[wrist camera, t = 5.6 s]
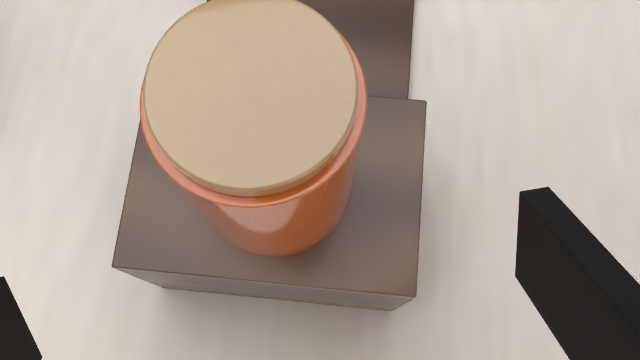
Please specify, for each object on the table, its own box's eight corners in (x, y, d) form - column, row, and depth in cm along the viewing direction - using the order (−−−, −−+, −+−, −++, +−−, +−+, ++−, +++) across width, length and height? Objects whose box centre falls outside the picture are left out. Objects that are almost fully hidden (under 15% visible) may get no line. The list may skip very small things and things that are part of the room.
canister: (210, 102, 28) (153, -27, 18) (357, 116, 27) (377, -8, 18) (187, 248, 26) (109, 188, 16) (345, 264, 25) (359, 212, 16)
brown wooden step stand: (221, -65, 40) (196, -172, 32) (415, -49, 40) (440, -153, 32) (161, 287, 34) (111, 266, 25) (392, 311, 33) (416, 297, 25)
